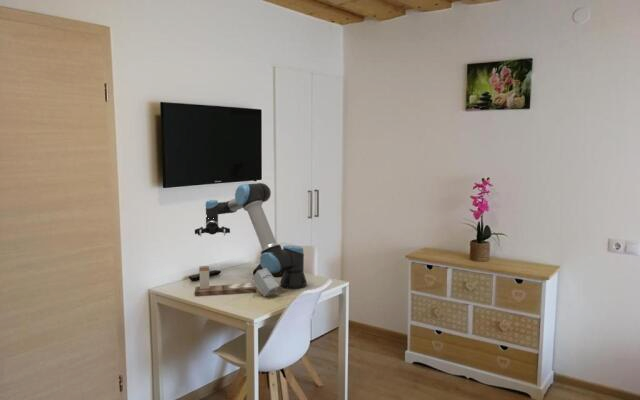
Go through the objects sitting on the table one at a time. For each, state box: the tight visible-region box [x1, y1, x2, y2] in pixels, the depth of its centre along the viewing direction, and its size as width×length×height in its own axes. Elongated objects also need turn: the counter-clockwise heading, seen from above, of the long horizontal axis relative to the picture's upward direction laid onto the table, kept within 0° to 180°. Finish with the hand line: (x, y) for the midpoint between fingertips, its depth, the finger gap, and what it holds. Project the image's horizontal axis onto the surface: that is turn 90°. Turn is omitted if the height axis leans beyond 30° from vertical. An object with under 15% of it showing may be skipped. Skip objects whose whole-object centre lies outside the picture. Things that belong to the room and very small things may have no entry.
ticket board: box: [194, 282, 258, 297], centre depth 281 cm, size 33×10×3 cm, turn 102°
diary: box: [252, 263, 283, 278], centre depth 325 cm, size 19×25×5 cm
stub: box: [198, 265, 210, 289], centre depth 277 cm, size 5×2×12 cm, turn 102°
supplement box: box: [252, 268, 280, 297], centre depth 275 cm, size 7×7×13 cm
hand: (212, 233), depth 291 cm, fingers open, 13 cm apart
